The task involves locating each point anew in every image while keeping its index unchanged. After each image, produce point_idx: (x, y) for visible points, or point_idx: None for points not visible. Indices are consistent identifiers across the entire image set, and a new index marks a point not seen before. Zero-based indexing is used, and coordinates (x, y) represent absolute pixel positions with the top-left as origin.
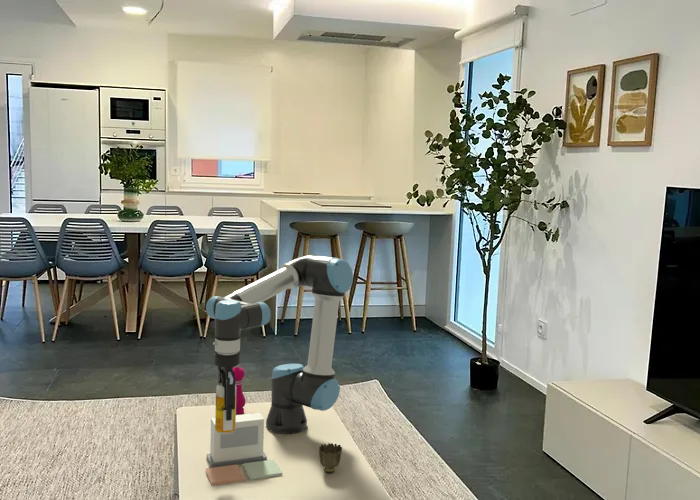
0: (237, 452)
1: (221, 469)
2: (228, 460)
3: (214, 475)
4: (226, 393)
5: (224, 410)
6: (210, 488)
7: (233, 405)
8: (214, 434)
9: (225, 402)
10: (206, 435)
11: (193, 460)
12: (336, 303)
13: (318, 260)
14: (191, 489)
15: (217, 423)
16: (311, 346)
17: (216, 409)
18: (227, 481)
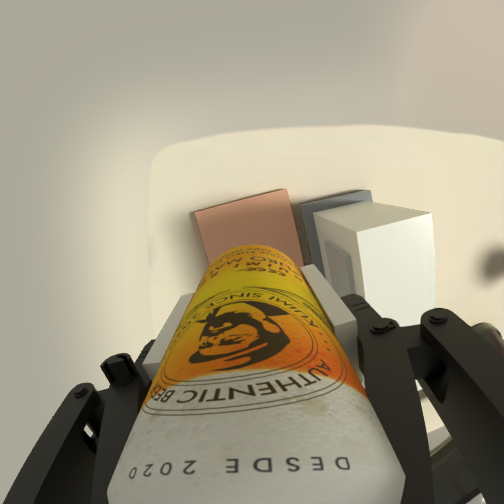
0: (331, 286)
1: (276, 235)
2: (321, 255)
3: (239, 217)
4: (31, 479)
5: (146, 363)
6: (179, 210)
7: (88, 441)
8: (340, 225)
9: (103, 415)
10: (475, 193)
11: (354, 153)
12: None
13: None
14: (176, 161)
15: (211, 270)
16: None
17: (213, 295)
18: (206, 254)
